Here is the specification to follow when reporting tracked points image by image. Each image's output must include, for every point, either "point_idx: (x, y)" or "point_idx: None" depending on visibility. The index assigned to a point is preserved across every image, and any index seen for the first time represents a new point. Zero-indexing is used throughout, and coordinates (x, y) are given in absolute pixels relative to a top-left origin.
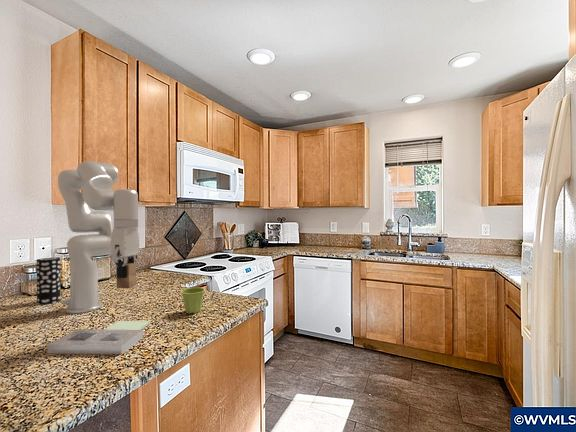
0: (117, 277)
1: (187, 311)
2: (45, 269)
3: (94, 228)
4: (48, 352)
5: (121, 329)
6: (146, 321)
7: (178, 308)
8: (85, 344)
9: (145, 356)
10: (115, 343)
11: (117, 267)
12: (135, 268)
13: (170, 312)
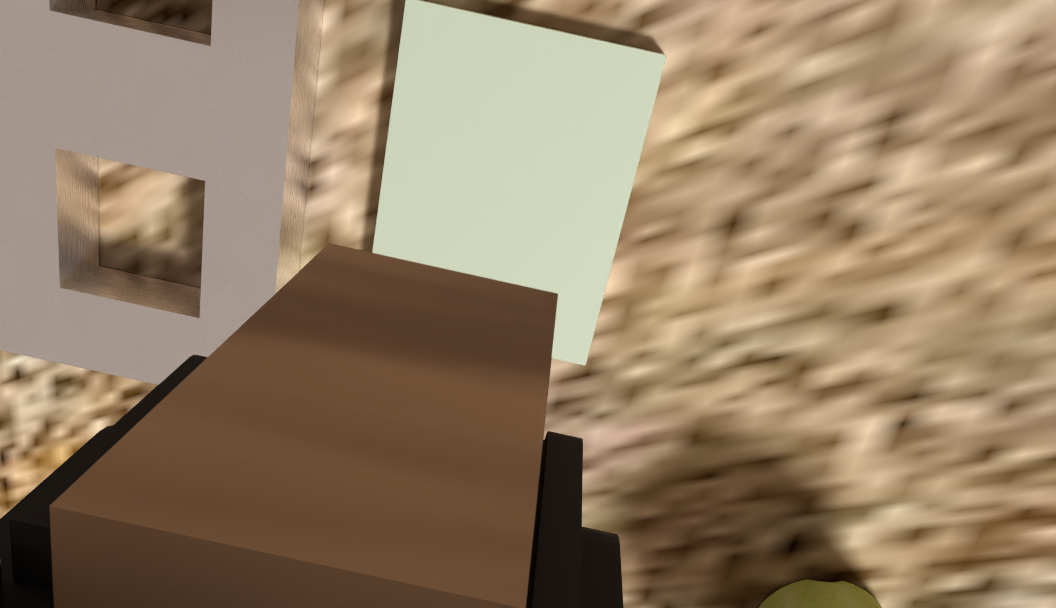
0: (192, 363)
1: (771, 605)
2: None
3: None
4: None
5: (416, 181)
6: (583, 337)
7: (953, 509)
8: None
9: (22, 463)
10: (18, 295)
11: (31, 513)
12: None
13: (849, 461)
